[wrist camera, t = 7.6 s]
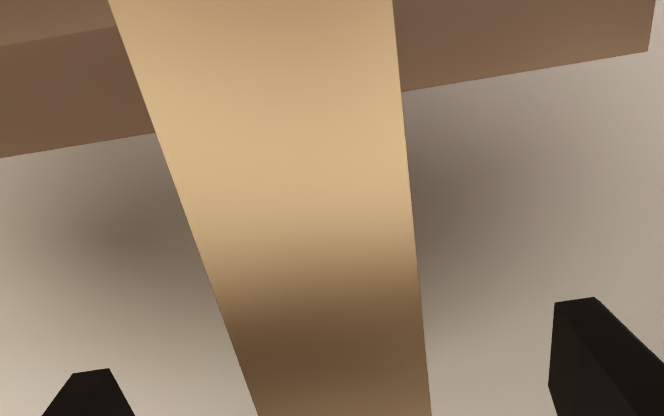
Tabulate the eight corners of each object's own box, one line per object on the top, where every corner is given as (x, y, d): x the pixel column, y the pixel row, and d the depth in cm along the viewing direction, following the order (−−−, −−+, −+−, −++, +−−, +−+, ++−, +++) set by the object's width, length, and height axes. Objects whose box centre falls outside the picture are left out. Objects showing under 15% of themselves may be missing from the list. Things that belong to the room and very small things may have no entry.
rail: (404, 352, 19) (444, 554, 14) (307, 366, 19) (315, 572, 14) (338, -179, 11) (380, -127, 6) (170, -148, 11) (81, -73, 6)
